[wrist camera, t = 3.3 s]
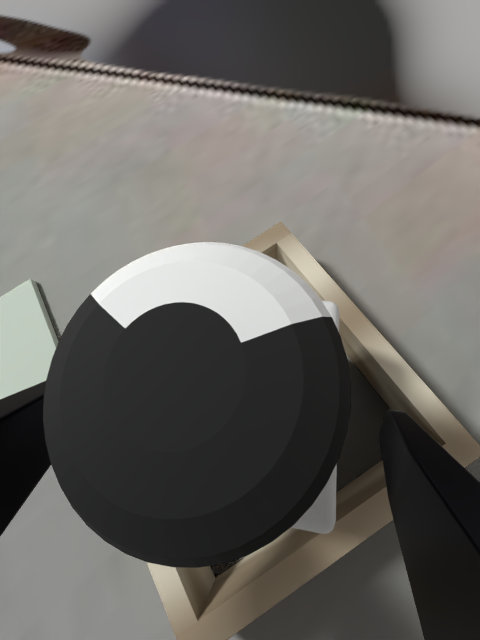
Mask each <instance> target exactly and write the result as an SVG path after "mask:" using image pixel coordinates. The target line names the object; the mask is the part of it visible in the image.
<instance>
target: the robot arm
mask: <svg viewBox="0 0 480 640" xmlns="http://www.w3.org/2000/svg"><path fill="white" fill-rule="evenodd" d="M45 386H46V381H44V382H41V383H39V384H36V385H34V386H32V387H29V388H27V389H24V390H22V391H19V392H17V393H15V394H12V395H10V396H7V397H5V398H2V399H0V536H1V535H2V533H3V532H4V530H5V529H6V528H7V526H8V525H9V523H10V522H11V520H12V519H13V518H14V516H15V515H16V513H17V512H18V511H19V509H20V508H21V506H22V505H23V503H24V502H25V501H26V499H27V498H28V496H29V495H30V494H31V492H32V491H33V489H34V488H35V487H36V485H37V484H38V482H39V481H40V479H41V478H42V477H43V475H44V474H45V472H46V471H47V470H48V468H49V467H50V465H51V462H50V458H49V454H48V450H47V446H46V442H45V433H44V423H43V404H44V393H45ZM379 437H380V446H381V453H382V460H383V466H384V473H385V480H386V487H387V493H388V499H389V503H390V508H391V512H392V516H393V519H394V523H395V527H396V531H397V535H398V539H399V543H400V547H401V550H402V554H403V558H404V562H405V566H406V570H407V574H408V577H409V581H410V585H411V589H412V593H413V597H414V601H415V604H416V608H417V612H418V616H419V620H420V624H421V628H422V631H423V635H424V639H425V640H480V482H479V481H478V480H477V479H476V478H475V477H474V476H473V475H472V474H471V473H470V472H468V471H467V470H466V469H465V468H464V467H463V466H462V465H461V464H460V463H459V462H458V461H457V460H456V459H455V458H454V457H453V456H452V455H450V454H449V453H448V452H447V451H446V450H445V449H444V448H443V447H442V446H441V445H440V444H439V443H438V442H437V441H436V440H435V439H434V438H432V437H431V436H430V435H429V434H428V433H427V432H426V431H425V430H424V429H423V428H422V427H421V426H420V425H419V424H418V423H417V422H415V421H414V420H413V419H412V418H411V417H410V416H409V415H408V414H407V413H406V412H404V411H398V410H387V411H386V413H385V416H384V419H383V423H382V426H381V429H380V435H379Z"/></svg>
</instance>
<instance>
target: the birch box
mask: <svg viewBox="0 0 480 640" xmlns="http://www.w3.org/2000/svg"><path fill="white" fill-rule="evenodd" d="M243 247H246V248H249V249H252V250H255V251H258V252H261V253H263V254H265V255H267V256H269V257H271V258H273V259H275V260H277V261H279V262H280V263H282V264H283V265H285V266H286V267H288V268H289V269H291V270H292V271H294V272H295V273H296V274H297V275H298V276H299V277H300V278H302V279H303V280H304V281H305V282H306V283H307V284H308V285H309V286H310V287H311V289H312V290H313V291H314V292H315V293H316V294H317V296H318V297H319V298H320V299H321V301H331V302H334V303H335V304H336V305H337V306H338V309H339V334H340V336H341V339H342V343H343V346H344V349H345V353H346V354H347V355H348V356H349V358H350V359H351V360H352V361H353V363H354V364H355V365H356V366H357V368H358V369H359V370H360V371H361V373H362V374H363V375H364V376H365V377H366V379H367V380H368V381H369V382H370V384H371V385H372V386H373V387H374V389H375V390H376V391H377V392H378V394H379V395H380V396H381V397H382V398H383V400H384V401H385V402H386V403H387V405H388V406H389V407H390V408H391V410H398V411H404V412H406V413H407V414H408V415H409V416H410V417H411V418H412V419H413V420H414V421H415V422H417V423H418V424H419V425H420V426H421V427H422V428H423V429H424V430H425V431H426V432H427V433H428V434H429V435H430V436H431V437H432V438H434V439H435V440H436V441H437V442H438V443H439V444H440V445H441V446H442V447H443V448H444V449H445V450H446V451H447V452H448V453H449V454H450V455H452V456H453V457H454V458H455V459H456V460H457V461H458V462H459V463H460V464H461V465H462V466H463V467H464V468H465V467H467V466H468V465H469V464H471V463H472V462H474V461H475V460H476V459H478V458H479V457H480V445H479V444H478V443H477V442H476V441H475V439H474V438H473V437H472V436H471V435H470V434H469V433H468V432H467V430H466V429H465V428H464V427H463V426H462V425H461V424H460V423H459V421H458V420H457V419H456V418H455V417H454V416H453V415H452V414H451V412H450V411H449V410H448V409H447V408H446V407H445V406H444V405H443V403H442V402H441V401H440V400H439V399H438V398H437V397H436V396H435V394H434V393H433V392H432V391H431V390H430V389H429V388H428V387H427V385H426V384H425V383H424V382H423V381H422V380H421V379H420V377H419V376H418V375H417V374H416V373H415V372H414V371H413V370H412V368H411V367H410V366H409V365H408V364H407V363H406V362H405V361H404V359H403V358H402V357H401V356H400V355H399V354H398V353H397V352H396V350H395V349H394V348H393V347H392V346H391V345H390V344H389V343H388V341H387V340H386V339H385V338H384V337H383V336H382V335H381V334H380V332H379V331H378V330H377V329H376V328H375V327H374V326H373V325H372V323H371V322H370V321H369V320H368V319H367V318H366V317H365V316H364V314H363V313H362V312H361V311H360V310H359V309H358V308H357V306H356V305H355V304H354V303H353V302H352V301H351V300H350V299H349V297H348V296H347V295H346V294H345V293H344V292H343V291H342V290H341V288H340V287H339V286H338V285H337V284H336V283H335V282H334V281H333V279H332V278H331V277H330V276H329V275H328V274H327V273H326V272H325V270H324V269H323V268H322V267H321V266H320V265H319V264H318V263H317V261H316V260H315V259H314V258H313V257H312V256H311V255H310V254H309V252H308V251H307V250H306V249H305V248H304V247H303V246H302V245H301V243H300V242H299V241H298V240H297V239H296V238H295V237H294V235H293V234H292V233H291V232H290V231H289V230H288V229H287V228H286V226H285V225H284V224H283V223H282V222H279V223H278V224H276V225H274V226H273V227H271V228H270V229H268V230H267V231H265V232H264V233H262V234H260V235H259V236H257V237H256V238H254V239H253V240H251V241H249V242H248V243H246V244H245V245H243ZM392 520H393V516H392V512H391V508H390V503H389V499H388V493H387V487H386V480H385V473H384V466H383V460H381V461H380V462H379V463H377V464H376V465H374V466H373V467H372V468H370V469H369V470H367V471H366V472H365V473H363V474H362V475H360V476H359V477H357V478H356V479H355V480H353V481H352V482H350V483H349V484H348V485H346V486H345V487H343V488H342V489H341V490H339V491H338V492H336V522H335V525H334V529H333V530H332V531H331V532H330V533H327V534H321V533H316V532H311V531H306V530H301V529H296V528H289V529H288V530H287V531H286V532H284V533H283V534H282V535H281V536H279V537H278V538H277V539H275V540H274V541H273V542H271V543H269V544H268V545H266V546H264V547H262V548H260V549H259V550H257V551H255V552H253V553H251V554H249V555H247V556H246V557H245V558H243V559H242V560H240V561H239V562H238V563H236V564H235V565H233V566H232V567H230V568H229V569H228V570H226V571H225V572H223V573H222V574H221V575H219V576H218V577H216V578H215V575H214V573H213V571H212V569H211V567H210V566H206V567H200V568H183V567H168V566H163V565H158V564H153V563H148V562H147V564H148V567H149V569H150V572H151V574H152V577H153V580H154V582H155V585H156V587H157V590H158V593H159V595H160V598H161V600H162V603H163V605H164V608H165V611H166V613H167V616H168V618H169V621H170V624H171V626H172V629H173V631H174V634H175V636H176V639H177V640H228V639H229V638H230V637H232V636H233V635H235V634H236V633H237V632H239V631H240V630H241V629H243V628H244V627H246V626H247V625H248V624H250V623H251V622H252V621H254V620H255V619H257V618H258V617H259V616H261V615H262V614H264V613H265V612H266V611H268V610H269V609H270V608H272V607H273V606H275V605H276V604H277V603H279V602H280V601H282V600H283V599H284V598H286V597H287V596H288V595H290V594H291V593H293V592H294V591H295V590H297V589H298V588H299V587H301V586H302V585H304V584H305V583H306V582H308V581H309V580H311V579H312V578H313V577H315V576H316V575H317V574H319V573H320V572H322V571H323V570H324V569H326V568H327V567H328V566H330V565H331V564H333V563H334V562H335V561H337V560H338V559H340V558H341V557H342V556H344V555H345V554H346V553H348V552H349V551H351V550H352V549H353V548H355V547H356V546H358V545H359V544H360V543H362V542H363V541H364V540H366V539H367V538H369V537H370V536H371V535H373V534H374V533H375V532H377V531H378V530H380V529H381V528H382V527H384V526H385V525H387V524H388V523H389V522H391V521H392Z"/></svg>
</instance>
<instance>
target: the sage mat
mask: <svg viewBox="0 0 480 640" xmlns="http://www.w3.org/2000/svg"><path fill="white" fill-rule="evenodd" d="M58 342H59V341H58V339H57V336H56V334H55V331H54V328H53V326H52V323H51V321H50V318H49V315H48V313H47V310H46V308H45V305H44V302H43V300H42V297H41V294H40V292H39V289H38V287H37V284H36V282H35V281H33V280H31V279H29V280H27V281H26V282H24V283H22V284H21V285H19V286H17V287H16V288H14V289H13V290H11V291H9V292H8V293H6V294H5V295H3V296H1V297H0V399H2V398H5V397H7V396H10V395H12V394H15V393H17V392H19V391H22V390H24V389H27V388H29V387H32V386H34V385H36V384H39V383H41V382H44V381H46V379H47V375H48V372H49V368H50V364H51V360H52V358H53V355H54V352H55V350H56V347H57V345H58Z"/></svg>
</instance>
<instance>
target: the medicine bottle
mask: <svg viewBox="0 0 480 640" xmlns="http://www.w3.org/2000/svg"><path fill="white" fill-rule="evenodd" d="M350 394H351V382H350V375H349V368H348V361H347V356H346V353H345V349H344V346H343V343H342V339H341V336H340V334H339V309H338V306H337V305H336V304H335V303H334V302H331V301H321V299H320V298H319V297H318V296H317V294H316V293H315V292H314V291H313V290H312V289H311V287H310V286H309V285H308V284H307V283H306V282H305V281H304V280H303V279H302V278H300V277H299V276H298V275H297V274H296V273H295V272H294V271H292V270H291V269H289V268H288V267H286V266H285V265H283V264H282V263H280V262H279V261H277V260H275V259H273V258H271V257H269V256H267V255H265V254H263V253H261V252H258V251H255V250H252V249H249V248H246V247H243V246H238V245H232V244H227V243H214V242H201V243H188V244H183V245H178V246H173V247H169V248H165V249H162V250H159V251H156V252H153V253H150V254H148V255H145V256H143V257H141V258H139V259H137V260H135V261H133V262H131V263H129V264H128V265H126V266H124V267H123V268H121V269H119V270H118V271H117V272H115V273H114V274H113V275H111V276H110V277H109V278H107V279H106V280H105V281H104V282H103V283H101V284H100V285H99V286H98V287H97V288H96V289H95V290H94V291H93V292H92V293H91V294H90V295H89V296H88V298H87V299H86V300H85V301H84V302H83V303H82V305H81V306H80V307H79V308H78V310H77V311H76V313H75V314H74V316H73V317H72V319H71V320H70V322H69V323H68V325H67V327H66V329H65V330H64V332H63V334H62V336H61V338H60V340H59V342H58V345H57V347H56V350H55V352H54V355H53V358H52V360H51V364H50V368H49V372H48V375H47V379H46V386H45V393H44V404H43V423H44V433H45V442H46V446H47V450H48V454H49V458H50V462H51V465H52V467H53V470H54V472H55V474H56V477H57V479H58V482H59V484H60V487H61V489H62V490H63V492H64V494H65V495H66V497H67V499H68V501H69V502H70V504H71V506H72V507H73V509H74V510H75V511H76V512H77V514H78V515H79V516H80V517H81V518H82V520H83V521H84V522H85V523H86V525H87V526H88V527H90V528H91V529H92V530H93V531H94V532H95V533H96V534H98V535H99V536H100V537H101V538H102V539H103V540H104V541H106V542H107V543H109V544H111V545H112V546H114V547H116V548H117V549H119V550H120V551H122V552H124V553H125V554H128V555H130V556H133V557H135V558H138V559H141V560H143V561H146V562H148V563H153V564H158V565H163V566H168V567H183V568H200V567H206V566H212V565H218V564H224V563H227V562H230V561H233V560H235V559H238V558H241V557H244V556H247V555H249V554H251V553H253V552H255V551H257V550H259V549H260V548H262V547H264V546H266V545H268V544H269V543H271V542H273V541H274V540H275V539H277V538H278V537H279V536H281V535H282V534H283V533H284V532H286V531H287V530H288V529H289V528H296V529H301V530H306V531H311V532H316V533H321V534H327V533H330V532H331V531H332V530H333V529H334V525H335V522H336V476H337V461H338V459H339V456H340V453H341V450H342V447H343V443H344V440H345V437H346V433H347V427H348V420H349V414H350Z"/></svg>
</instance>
